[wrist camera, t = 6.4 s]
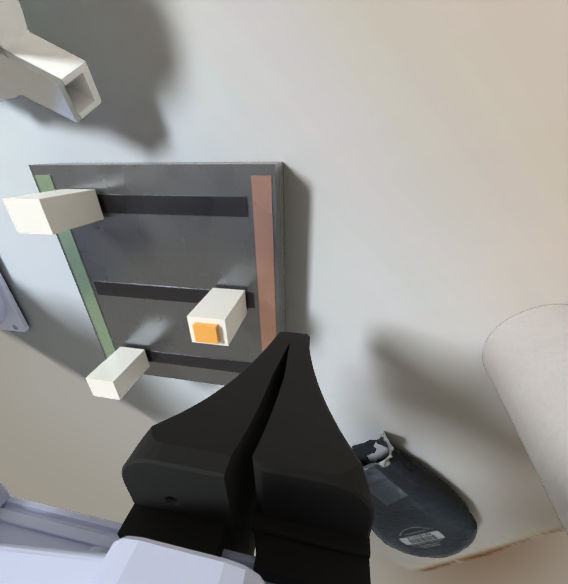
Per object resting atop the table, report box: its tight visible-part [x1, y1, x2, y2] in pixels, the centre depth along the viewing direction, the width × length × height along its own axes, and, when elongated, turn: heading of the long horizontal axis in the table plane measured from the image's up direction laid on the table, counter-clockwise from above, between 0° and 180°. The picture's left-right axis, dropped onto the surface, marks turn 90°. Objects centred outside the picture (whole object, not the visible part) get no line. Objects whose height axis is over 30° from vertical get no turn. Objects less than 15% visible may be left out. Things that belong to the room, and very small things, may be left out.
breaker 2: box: [86, 347, 150, 400], centre depth 19 cm, size 2×2×3 cm
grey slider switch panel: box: [29, 162, 285, 385], centre depth 19 cm, size 14×15×2 cm
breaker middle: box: [187, 288, 247, 346], centre depth 15 cm, size 2×2×4 cm
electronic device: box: [352, 433, 477, 558], centre depth 25 cm, size 9×6×15 cm
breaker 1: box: [2, 189, 104, 235], centre depth 14 cm, size 2×2×3 cm
